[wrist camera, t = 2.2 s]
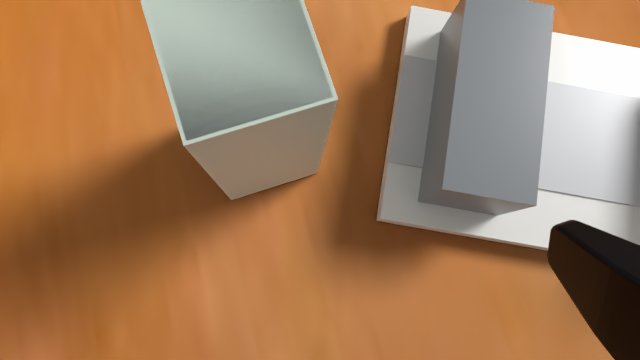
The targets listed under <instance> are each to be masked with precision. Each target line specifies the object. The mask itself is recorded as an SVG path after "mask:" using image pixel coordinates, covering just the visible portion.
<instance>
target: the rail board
mask: <svg viewBox="0 0 640 360" xmlns="http://www.w3.org/2000/svg"><path fill="white" fill-rule="evenodd" d="M553 17H554V6H552V5H547V4H542V3H536V2H531V1H526V0H460V2H459V3H458V5H457V6H456V8H455V9H454V11H453V13H449V12H443V11H438V10H433V9H427V8H422V7H417V6H411V8H410V10H409V12H408V14H407V17H406V23H405V30H404V37H403V43H402V50H401V57H400V64H399V70H398V77H397V84H396V91H395V97H394V104H393V111H392V118H391V124H390V131H389V138H388V144H387V151H386V158H385V165H384V171H383V178H382V185H381V192H380V198H379V205H378V212H377V219H376V221H381V222H386V223H392V224H398V225H404V226H409V227H415V228H421V229H426V230H432V231H438V232H444V233H449V234H455V235H461V236H466V237H472V238H478V239H483V240H489V241H495V242H501V243H506V244H512V245H518V246H523V247H529V248H535V249H541V250H546V251H548V246H549V238H550V231H551V228H552V227H553V226H554V225H556V224H559V223H562V222H565V221H568V220H577V221H580V222H582V223H585V224H587V225H590V226H592V227H595V228H597V229H600V230H603V231H605V232H608V233H610V234H613V235H615V236H618V237H620V238H623V239H625V240H628V241H630V242H633V243H635V244H638V245H640V48H635V47H630V46H624V45H619V44H614V43H608V42H603V41H598V40H592V39H587V38H582V37H576V36H571V35H566V34H560V33H555V32H552V28H553Z"/></svg>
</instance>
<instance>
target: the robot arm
mask: <svg viewBox="0 0 640 360" xmlns="http://www.w3.org/2000/svg"><path fill="white" fill-rule="evenodd" d="M547 256H548V261H549V264H550V266H551V268H552V270H553V271H554V273H555V274H556V276H557V277H558V279H559V280H560V282H561V284H562V285H563V287H564V288H565V290H566V291H567V293H568V294H569V296H570V297H571V299H572V301H573V302H574V304H575V305H576V307H577V308H578V310H579V311H580V313H581V315H582V316H583V318H584V319H585V321H586V322H587V324H588V325H589V327H590V328H591V330H592V331H593V333H594V334H595V335H596V337H597V338H598V339H599V341H600V342H601V343H602V344H603V346H604V347H605V348H606V349H607V351H608V352H609V353H610V354H611V356H612V357H613V358H614V359H615V360H640V245H638V244H635V243H633V242H630V241H628V240H625V239H623V238H620V237H618V236H615V235H613V234H610V233H608V232H605V231H603V230H600V229H597V228H595V227H592V226H590V225H587V224H585V223H582V222H580V221H577V220H568V221H565V222H562V223H559V224H556V225H554V226H553V227H552V228H551V231H550V238H549V246H548V253H547Z"/></svg>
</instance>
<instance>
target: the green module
mask: <svg viewBox="0 0 640 360" xmlns="http://www.w3.org/2000/svg"><path fill="white" fill-rule="evenodd" d="M141 4H142V8H143V11H144V15H145V18H146V21H147V25H148V28H149V31H150V35H151V38H152V42H153V45H154V48H155V52H156V55H157V58H158V62H159V65H160V68H161V72H162V75H163V79H164V82H165V85H166V89H167V92H168V95H169V99H170V102H171V106H172V109H173V112H174V116H175V119H176V122H177V126H178V129H179V133H180V136H181V139H182V143H183V146H184V147H185V148H186V149H187V151H188V152H189V153H190V154H191V155H192V156H193V157H194V159H195V160H196V161H197V162H198V163H199V164H200V165H201V166H202V168H203V169H204V170H205V171H206V172H207V173H208V174H209V176H210V177H211V178H212V179H213V180H214V181H215V182H216V184H217V185H218V186H219V187H220V188H221V189H222V190H223V191H224V193H225V194H226V195H227V196H228V197H229V198H230V199H231V200H234V199H237V198H240V197H244V196H247V195H250V194H253V193H256V192H259V191H263V190H266V189H269V188H272V187H275V186H278V185H281V184H285V183H288V182H291V181H294V180H297V179H300V178H304V177H307V176H310V175H313V174H316V173H317V172H318V169H319V165H320V162H321V158H322V155H323V151H324V148H325V144H326V141H327V137H328V134H329V130H330V127H331V123H332V120H333V116H334V113H335V109H336V106H337V102H338V97H337V94H336V92H335V89H334V86H333V83H332V80H331V77H330V74H329V72H328V69H327V66H326V63H325V60H324V57H323V54H322V52H321V49H320V46H319V43H318V40H317V37H316V35H315V32H314V29H313V26H312V23H311V20H310V17H309V15H308V12H307V9H306V6H305V3H304V0H141Z"/></svg>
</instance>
